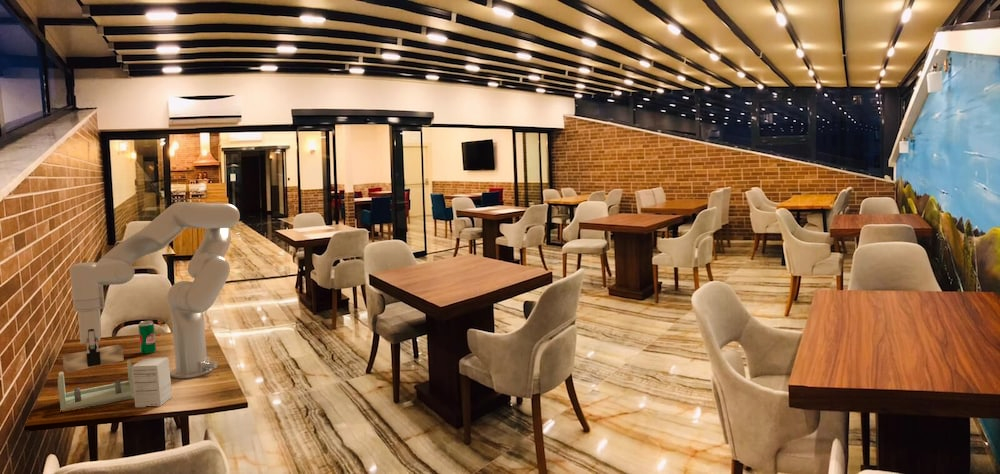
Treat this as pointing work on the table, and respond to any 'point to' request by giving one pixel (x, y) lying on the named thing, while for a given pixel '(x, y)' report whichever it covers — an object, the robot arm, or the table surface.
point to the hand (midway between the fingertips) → (94, 362)
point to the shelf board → (80, 359)
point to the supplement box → (151, 382)
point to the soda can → (147, 337)
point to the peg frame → (95, 393)
